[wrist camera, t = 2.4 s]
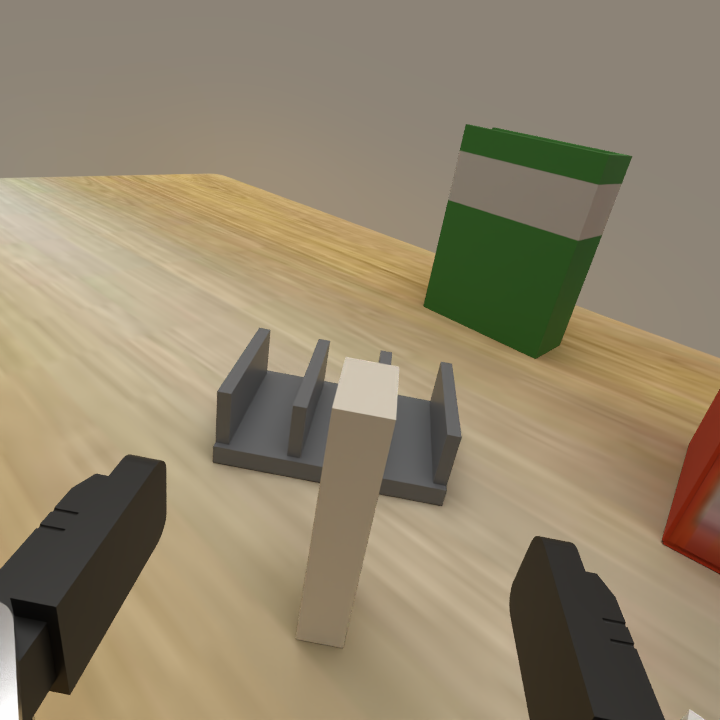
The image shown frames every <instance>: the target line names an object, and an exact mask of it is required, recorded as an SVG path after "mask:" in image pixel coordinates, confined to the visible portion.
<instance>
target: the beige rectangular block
mask: <svg viewBox="0 0 720 720" xmlns="http://www.w3.org/2000/svg"><path fill="white" fill-rule="evenodd" d="M398 380H399V367H398V366H392V365H387V364H381V363H376V362H371V361H365V360H360V359H355V358H349V357H345V361H344V365H343V369H342V372H341V376H340V380H339V384H338V387H337V391H336V395H335V399H334V402H333V406H332V411H331V418H330V424H329V430H328V436H327V443H326V449H325V455H324V462H323V468H322V474H321V480H320V487H319V493H318V499H317V506H316V512H315V518H314V524H313V531H312V537H311V543H310V550H309V556H308V562H307V568H306V575H305V581H304V587H303V594H302V600H301V606H300V613H299V619H298V625H297V631H296V638H295V639H298V640H303V641H308V642H313V643H319V644H324V645H329V646H334V647H339V648H343V646H344V642H345V637H346V633H347V629H348V624H349V620H350V616H351V612H352V607H353V603H354V599H355V594H356V590H357V586H358V581H359V577H360V573H361V569H362V564H363V560H364V556H365V551H366V547H367V543H368V538H369V534H370V530H371V526H372V521H373V517H374V513H375V508H376V504H377V500H378V495H379V491H380V487H381V483H382V478H383V474H384V470H385V465H386V461H387V457H388V453H389V448H390V444H391V440H392V435H393V431H394V427H395V422H396V413H397V397H398Z"/></svg>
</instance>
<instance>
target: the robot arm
mask: <svg viewBox="0 0 720 720" xmlns="http://www.w3.org/2000/svg"><path fill="white" fill-rule="evenodd" d="M165 521H166V464H165V462H164V461H161V460H156V459H151V458H146V457H140V456H135V455H126V456H125V457H124V458H123V459H122V460H121V461H120V463H119V464H118V465H117V466H116V468H115V469H114V470H113V471H112V473H111V474H110V475H109V476H106V475H100V474H94V475H93V476H91V477H89V478H88V479H86V480H85V481H83V482H81V483H80V484H78V485H76V486H75V487H73V488H71V489H70V491H69V492H68V493H67V494H66V495H65V496H64V497H63V499H62V500H61V501H60V502H59V503H58V504H57V505H56V507H55V508H54V511H53V512H50V513H49V514H48V516H47V517H46V518H45V519H44V520H43V521H42V522H41V524H40V527H39V528H36V529H35V530H34V532H33V533H32V534H31V535H30V536H29V537H28V538H27V539H26V541H25V542H24V543H23V544H22V545H21V546H20V547H19V549H18V550H17V551H16V552H15V553H14V554H13V555H12V556H11V558H10V559H9V560H8V561H7V562H6V563H5V564H4V566H3V567H2V568H1V569H0V720H35V717H34V714H35V713H36V711H37V709H38V708H39V706H40V705H41V703H42V701H43V700H44V698H45V697H46V695H47V693H48V692H49V691H53V692H58V693H63V694H68V695H70V694H71V692H72V691H73V689H74V687H75V685H76V684H77V682H78V680H79V679H80V677H81V675H82V673H83V672H84V670H85V668H86V666H87V665H88V663H89V661H90V659H91V658H92V656H93V654H94V653H95V651H96V649H97V647H98V646H99V644H100V642H101V640H102V639H103V637H104V635H105V634H106V632H107V630H108V628H109V627H110V625H111V623H112V621H113V620H114V618H115V616H116V614H117V613H118V611H119V609H120V608H121V606H122V604H123V602H124V601H125V599H126V597H127V595H128V594H129V592H130V590H131V589H132V587H133V585H134V583H135V582H136V580H137V578H138V576H139V575H140V573H141V571H142V569H143V568H144V566H145V564H146V563H147V561H148V559H149V557H150V556H151V554H152V552H153V550H154V549H155V547H156V545H157V543H158V542H159V539H160V537H161V535H162V532H163V529H164V525H165ZM509 606H510V617H511V622H512V627H513V633H514V638H515V643H516V649H517V654H518V659H519V665H520V670H521V675H522V681H523V686H524V692H525V697H526V702H527V708H528V713H529V718H530V720H665V719H664V716H663V714H662V711H661V709H660V706H659V704H658V701H657V699H656V696H655V694H654V691H653V689H652V686H651V684H650V682H649V679H648V677H647V674H646V672H645V669H644V667H643V664H642V662H641V659H640V657H639V654H638V652H637V649H634V642H633V640H632V637H631V635H630V632H629V630H628V627H625V623H626V622H625V620H624V617H623V615H622V612H621V610H620V607H619V605H618V602H617V600H616V597H615V596H614V595H613V594H612V592H611V591H610V590H609V589H608V587H607V586H606V585H605V583H604V582H603V581H602V580H601V578H600V577H599V576H598V575H597V574H596V573H590V572H585V569H584V566H583V563H582V561H581V558H580V555H579V552H578V550H577V548H576V546H575V545H574V544H573V543H571V542H566V541H561V540H556V539H550V538H545V537H540V536H536V537H534V538H533V540H532V542H531V544H530V546H529V548H528V550H527V552H526V555H525V557H524V559H523V561H522V564H521V566H520V568H519V570H518V572H517V575H516V577H515V579H514V581H513V584H512V587H511V592H510V603H509Z"/></svg>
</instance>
